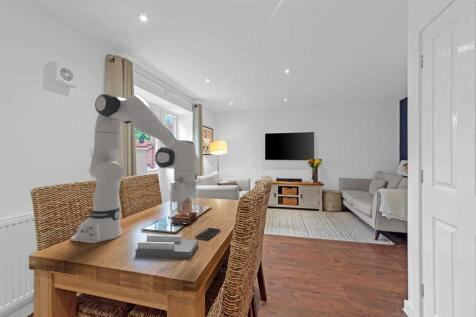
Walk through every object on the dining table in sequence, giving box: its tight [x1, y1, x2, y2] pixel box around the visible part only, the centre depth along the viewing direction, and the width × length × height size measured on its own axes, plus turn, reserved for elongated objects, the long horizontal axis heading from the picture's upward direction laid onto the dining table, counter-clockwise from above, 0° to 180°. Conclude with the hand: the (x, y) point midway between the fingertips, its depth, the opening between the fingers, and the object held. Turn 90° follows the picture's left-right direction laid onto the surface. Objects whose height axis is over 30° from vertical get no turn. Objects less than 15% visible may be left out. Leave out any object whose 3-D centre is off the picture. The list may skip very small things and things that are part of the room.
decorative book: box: [170, 211, 198, 226], centre depth 133 cm, size 11×16×5 cm
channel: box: [135, 234, 199, 259], centre depth 92 cm, size 23×12×5 cm, turn 86°
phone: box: [194, 227, 222, 242], centre depth 111 cm, size 8×1×15 cm
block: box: [176, 200, 192, 214], centre depth 90 cm, size 5×5×4 cm
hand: (183, 208), depth 90 cm, fingers closed on block, 5 cm apart
